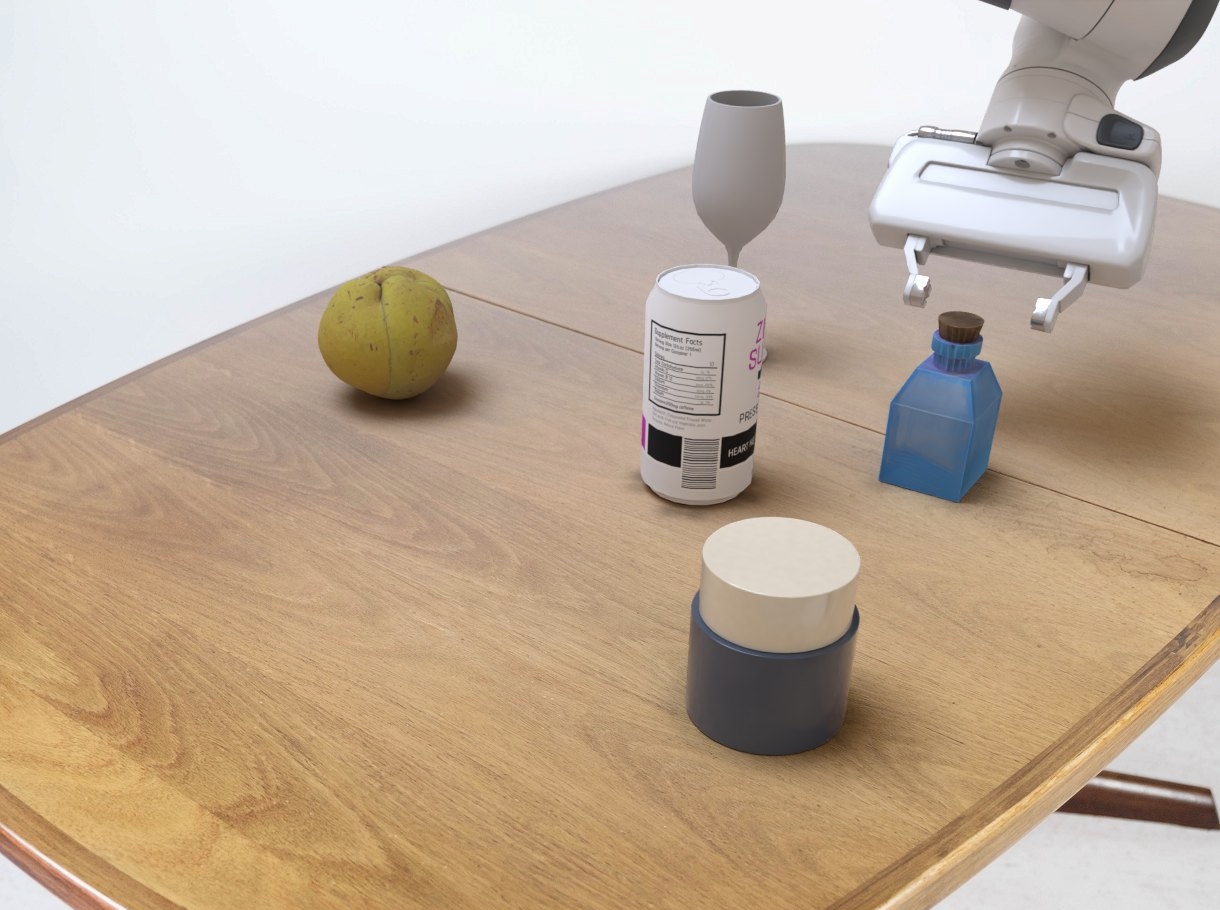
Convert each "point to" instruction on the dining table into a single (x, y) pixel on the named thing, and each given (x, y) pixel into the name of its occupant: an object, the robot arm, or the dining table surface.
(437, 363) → the fruit
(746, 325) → the supplement can
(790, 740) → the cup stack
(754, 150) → the wineglass
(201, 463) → the dining table surface
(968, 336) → the perfume bottle
